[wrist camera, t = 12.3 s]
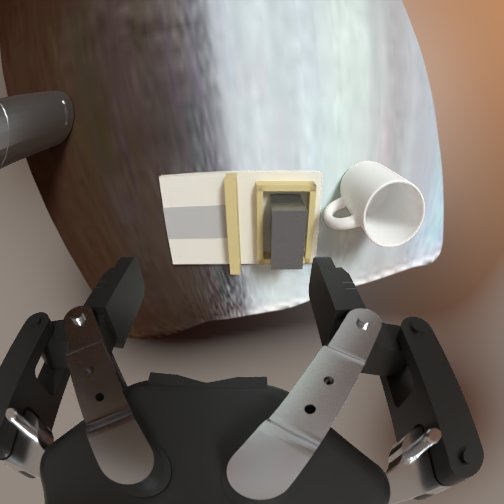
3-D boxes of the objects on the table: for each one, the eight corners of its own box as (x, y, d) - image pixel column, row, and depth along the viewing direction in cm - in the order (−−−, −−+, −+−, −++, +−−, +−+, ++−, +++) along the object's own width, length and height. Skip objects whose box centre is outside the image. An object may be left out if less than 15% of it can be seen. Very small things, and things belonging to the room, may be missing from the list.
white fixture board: (174, 260, 43) (168, 274, 40) (161, 175, 36) (152, 183, 33) (313, 259, 43) (318, 273, 40) (321, 171, 36) (327, 178, 32)
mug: (323, 229, 40) (341, 267, 31) (306, 178, 36) (322, 205, 28) (394, 203, 38) (427, 234, 29) (383, 152, 34) (420, 171, 25)
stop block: (270, 193, 37) (272, 210, 31) (299, 194, 37) (307, 210, 31) (269, 246, 41) (271, 269, 35) (296, 246, 41) (302, 269, 35)
